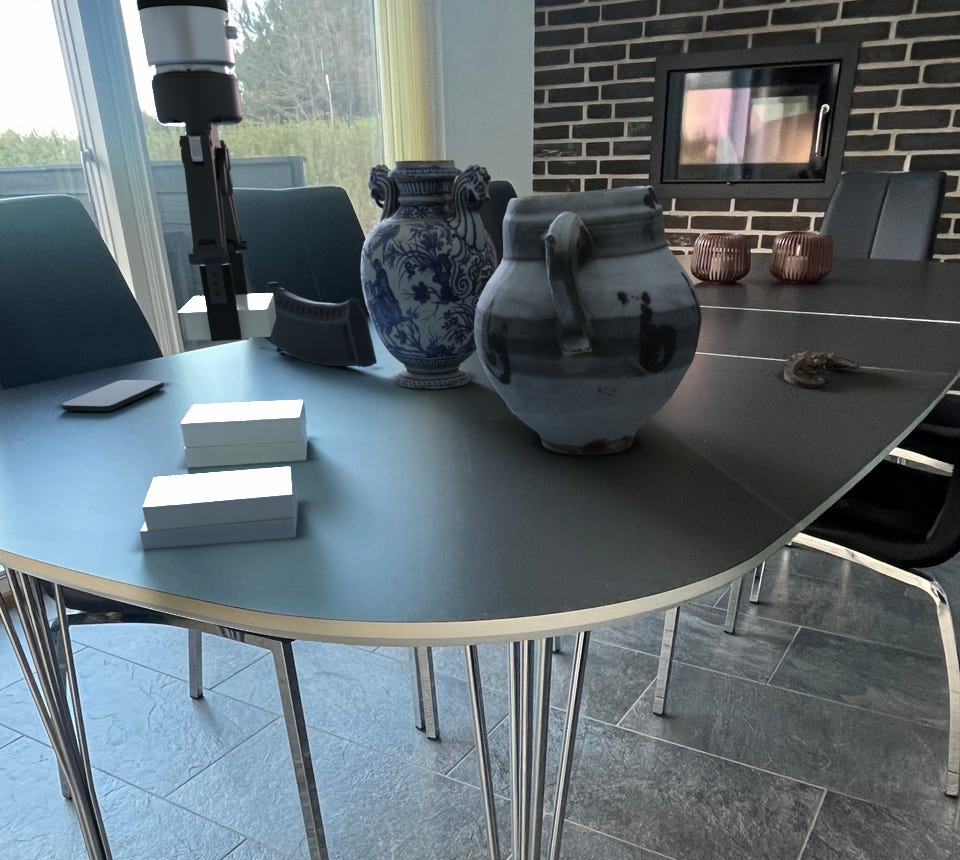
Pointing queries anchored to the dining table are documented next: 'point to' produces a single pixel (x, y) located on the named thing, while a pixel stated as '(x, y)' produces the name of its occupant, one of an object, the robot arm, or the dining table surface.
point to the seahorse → (813, 367)
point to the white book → (252, 315)
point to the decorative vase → (427, 267)
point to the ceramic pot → (587, 317)
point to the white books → (245, 433)
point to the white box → (220, 508)
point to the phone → (113, 395)
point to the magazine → (321, 330)
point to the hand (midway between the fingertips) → (233, 329)
